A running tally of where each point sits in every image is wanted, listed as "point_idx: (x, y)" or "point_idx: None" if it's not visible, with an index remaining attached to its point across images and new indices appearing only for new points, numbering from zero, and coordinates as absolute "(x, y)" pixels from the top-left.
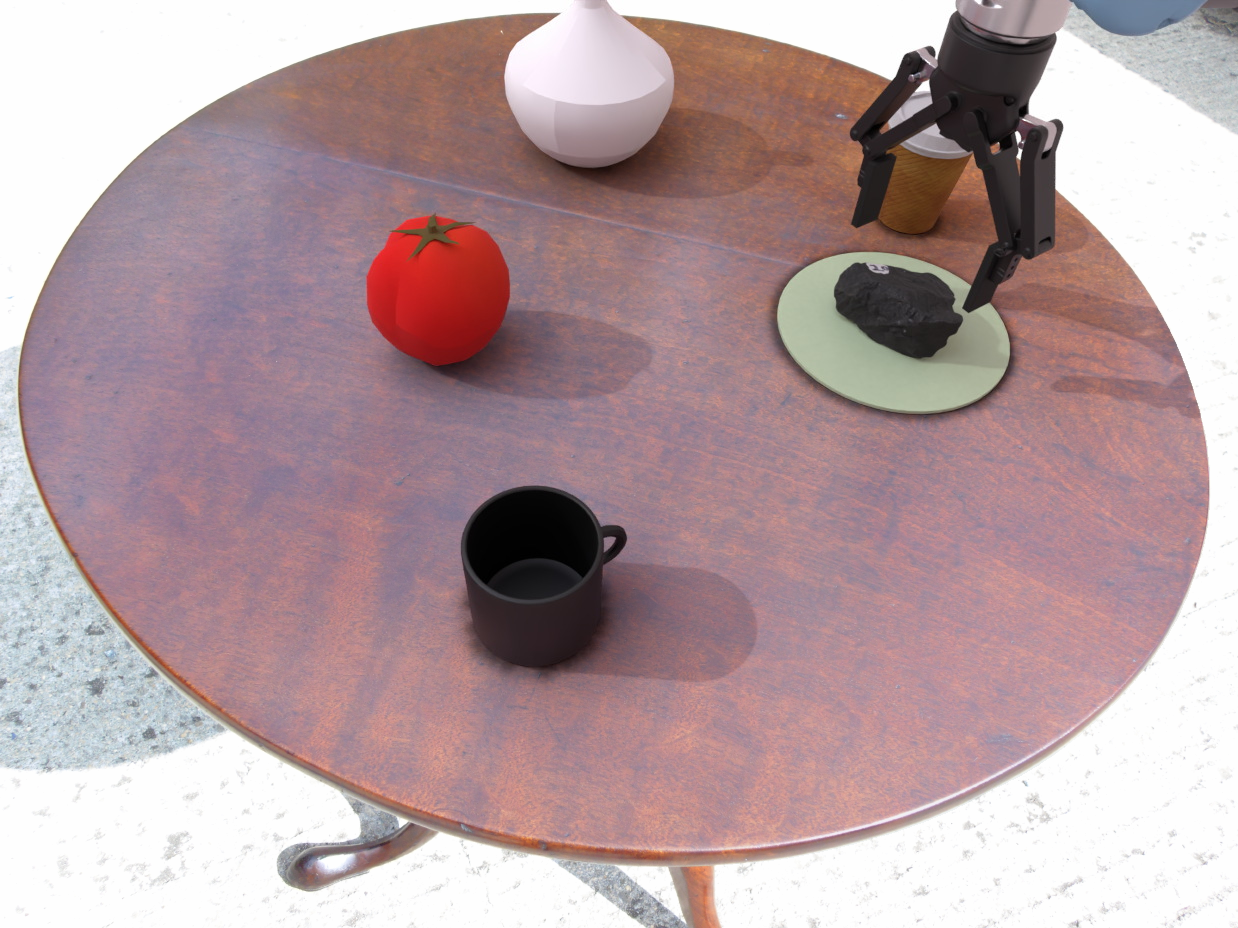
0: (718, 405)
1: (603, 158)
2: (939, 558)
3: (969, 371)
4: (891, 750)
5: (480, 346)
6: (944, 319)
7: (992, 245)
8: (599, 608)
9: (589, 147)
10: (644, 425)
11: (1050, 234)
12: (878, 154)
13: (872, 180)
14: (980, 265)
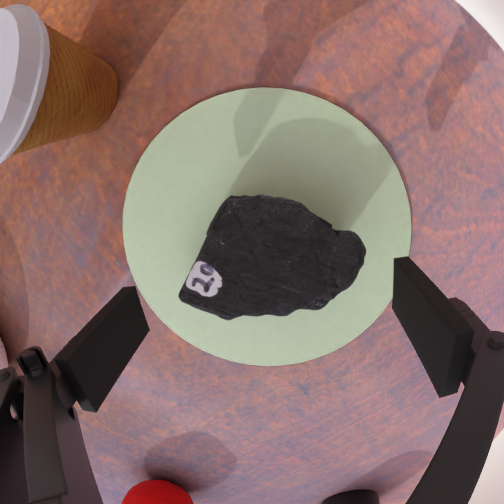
0: (281, 426)
1: (5, 366)
2: None
3: (376, 208)
4: (499, 418)
5: (189, 501)
6: (351, 274)
7: (443, 391)
8: (374, 501)
9: None
10: (273, 458)
11: None
12: (68, 398)
13: (107, 383)
14: (422, 362)
